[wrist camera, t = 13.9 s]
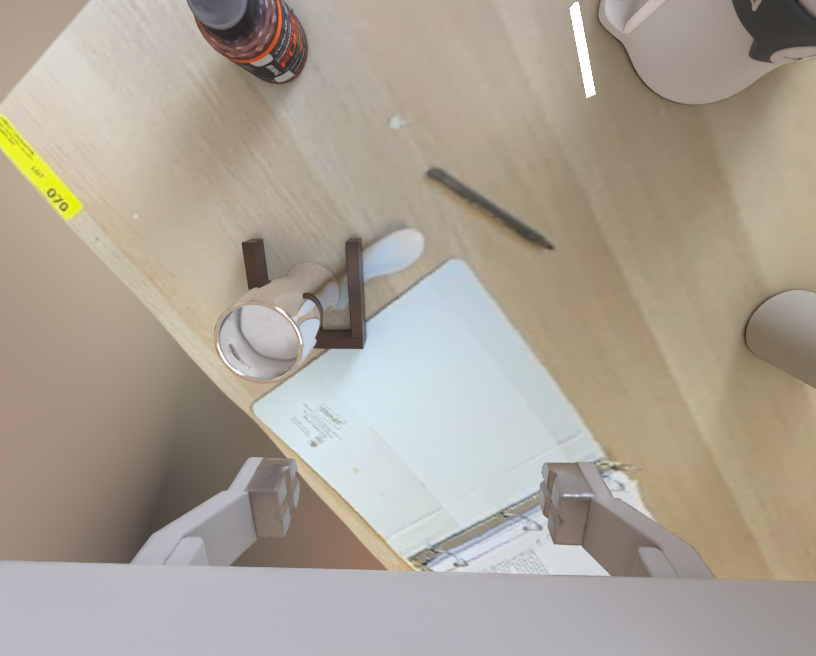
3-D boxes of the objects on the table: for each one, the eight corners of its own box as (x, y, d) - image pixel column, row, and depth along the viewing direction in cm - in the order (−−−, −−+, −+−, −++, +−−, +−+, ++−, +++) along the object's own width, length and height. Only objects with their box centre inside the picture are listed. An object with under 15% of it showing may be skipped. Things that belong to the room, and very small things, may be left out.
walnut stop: (251, 238, 42) (241, 242, 40) (361, 238, 42) (357, 241, 39) (265, 339, 46) (257, 348, 44) (366, 340, 46) (363, 348, 43)
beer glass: (273, 309, 45) (204, 370, 31) (286, 248, 42) (218, 285, 28) (334, 328, 45) (294, 397, 31) (351, 269, 43) (315, 315, 29)
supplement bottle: (310, 88, 37) (264, 53, 27) (245, 82, 37) (173, 46, 27) (309, 8, 35) (259, -64, 24) (240, 3, 35) (160, -72, 24)
